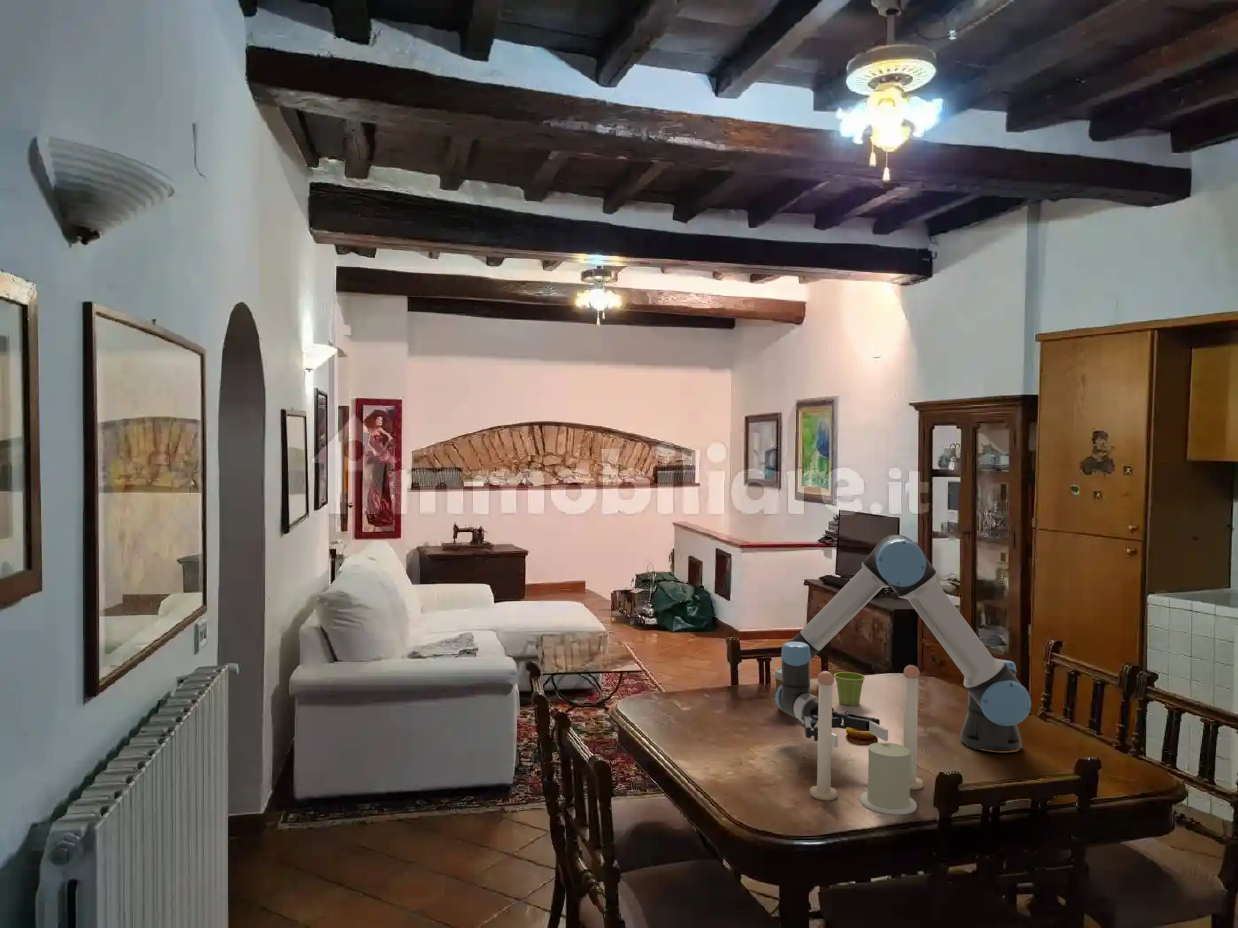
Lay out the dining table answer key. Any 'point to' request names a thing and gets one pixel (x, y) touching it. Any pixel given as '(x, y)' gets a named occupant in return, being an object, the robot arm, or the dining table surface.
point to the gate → (825, 732)
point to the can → (889, 775)
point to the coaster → (883, 810)
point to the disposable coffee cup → (778, 681)
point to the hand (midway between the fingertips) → (861, 738)
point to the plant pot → (849, 687)
